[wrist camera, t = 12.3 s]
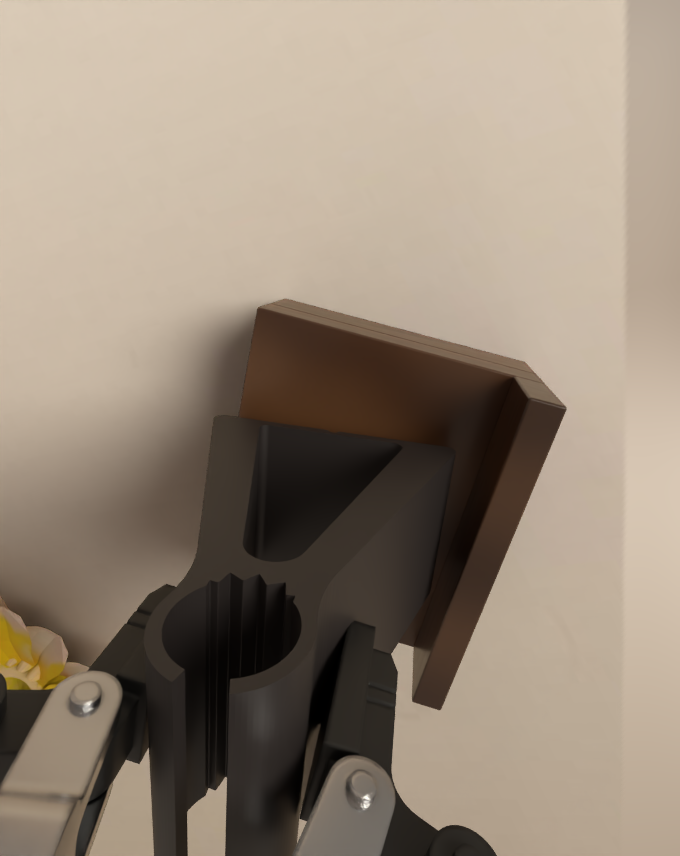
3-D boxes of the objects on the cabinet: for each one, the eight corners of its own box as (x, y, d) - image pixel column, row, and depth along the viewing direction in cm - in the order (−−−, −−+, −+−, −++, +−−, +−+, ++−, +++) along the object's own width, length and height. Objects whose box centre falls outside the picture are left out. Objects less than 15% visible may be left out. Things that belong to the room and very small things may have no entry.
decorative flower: (200, 702, 29) (56, 915, 21) (130, 750, 35) (-2, 929, 27) (3, 524, 29) (-224, 669, 20) (-33, 605, 35) (-218, 741, 27)
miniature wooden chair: (284, 298, 23) (227, 315, 16) (526, 362, 22) (568, 407, 16) (237, 539, 27) (178, 628, 21) (437, 599, 27) (440, 711, 20)
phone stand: (456, 448, 18) (502, 751, 7) (430, 586, 20) (435, 989, 9) (218, 413, 20) (-63, 630, 8) (215, 547, 22) (-13, 868, 10)
